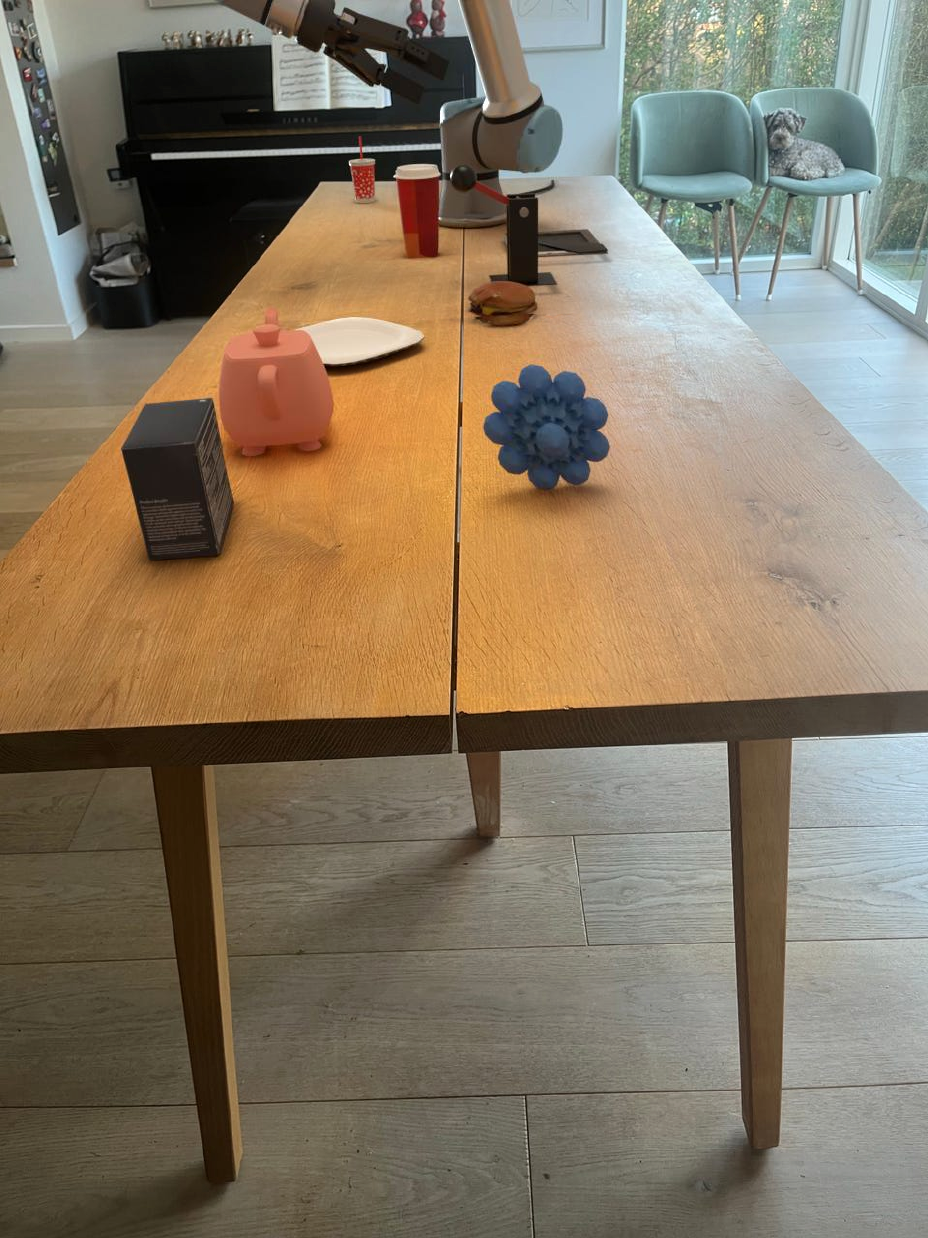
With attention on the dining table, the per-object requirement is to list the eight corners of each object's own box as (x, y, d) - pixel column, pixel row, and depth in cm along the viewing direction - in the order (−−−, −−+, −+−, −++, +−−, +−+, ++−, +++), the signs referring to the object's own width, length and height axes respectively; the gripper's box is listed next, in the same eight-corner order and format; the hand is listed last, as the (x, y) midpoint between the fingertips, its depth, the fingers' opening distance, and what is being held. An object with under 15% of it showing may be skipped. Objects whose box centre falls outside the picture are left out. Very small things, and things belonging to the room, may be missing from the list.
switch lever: (446, 187, 147) (458, 160, 145) (445, 183, 151) (456, 157, 149) (525, 227, 151) (537, 202, 149) (522, 222, 154) (534, 198, 152)
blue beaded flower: (490, 513, 89) (486, 384, 82) (482, 482, 95) (478, 359, 88) (617, 504, 89) (623, 374, 83) (602, 474, 95) (607, 351, 89)
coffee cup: (446, 250, 184) (442, 162, 177) (441, 259, 178) (437, 169, 170) (402, 250, 185) (396, 163, 177) (395, 260, 178) (389, 170, 170)
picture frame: (607, 261, 172) (587, 237, 189) (608, 249, 171) (587, 226, 188) (516, 266, 171) (504, 241, 189) (516, 254, 170) (504, 230, 188)
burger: (531, 306, 148) (530, 274, 145) (541, 324, 140) (541, 290, 138) (465, 311, 147) (464, 279, 145) (472, 328, 140) (470, 295, 137)
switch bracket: (493, 296, 154) (491, 202, 147) (489, 284, 161) (487, 193, 154) (556, 293, 154) (558, 198, 147) (550, 281, 161) (551, 190, 154)
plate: (356, 323, 144) (355, 311, 143) (441, 346, 133) (440, 333, 132) (252, 353, 133) (250, 340, 132) (335, 380, 122) (333, 367, 121)
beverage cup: (352, 200, 237) (346, 135, 229) (377, 198, 237) (372, 134, 230) (352, 204, 231) (346, 138, 224) (378, 202, 232) (373, 137, 224)
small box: (165, 508, 92) (141, 400, 87) (235, 503, 93) (216, 395, 87) (143, 562, 83) (115, 445, 78) (221, 556, 84) (199, 439, 78)
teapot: (339, 467, 99) (326, 348, 93) (220, 477, 98) (198, 358, 92) (334, 400, 116) (323, 296, 110) (232, 409, 115) (214, 304, 108)
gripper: (282, 65, 155) (404, 127, 163) (307, 10, 132) (448, 85, 140) (297, 17, 155) (420, 82, 162) (325, -47, 132) (466, 32, 139)
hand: (433, 84), depth 151 cm, fingers open, 13 cm apart
